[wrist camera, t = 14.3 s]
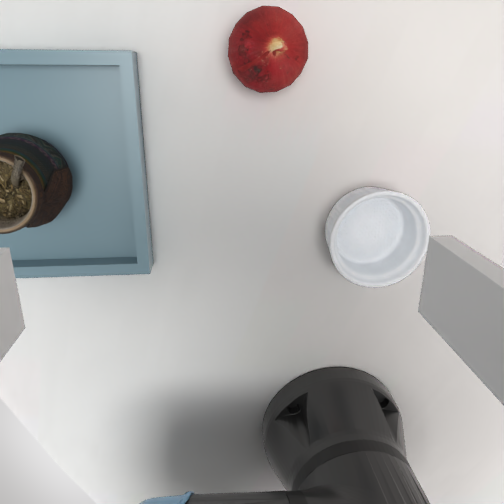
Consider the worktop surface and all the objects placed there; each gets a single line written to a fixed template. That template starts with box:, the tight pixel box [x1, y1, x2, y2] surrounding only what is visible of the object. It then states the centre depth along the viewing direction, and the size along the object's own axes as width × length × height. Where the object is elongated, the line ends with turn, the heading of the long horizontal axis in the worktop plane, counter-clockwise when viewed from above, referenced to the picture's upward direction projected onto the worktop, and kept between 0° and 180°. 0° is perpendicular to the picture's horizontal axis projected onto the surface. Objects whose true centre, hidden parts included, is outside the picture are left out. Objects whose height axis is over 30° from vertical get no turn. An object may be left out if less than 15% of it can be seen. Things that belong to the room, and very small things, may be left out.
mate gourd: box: [0, 133, 73, 234], centre depth 33 cm, size 7×8×10 cm
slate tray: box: [0, 49, 153, 278], centre depth 37 cm, size 18×18×2 cm
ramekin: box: [325, 187, 430, 288], centre depth 41 cm, size 9×9×4 cm
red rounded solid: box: [228, 6, 308, 93], centre depth 33 cm, size 6×6×8 cm
